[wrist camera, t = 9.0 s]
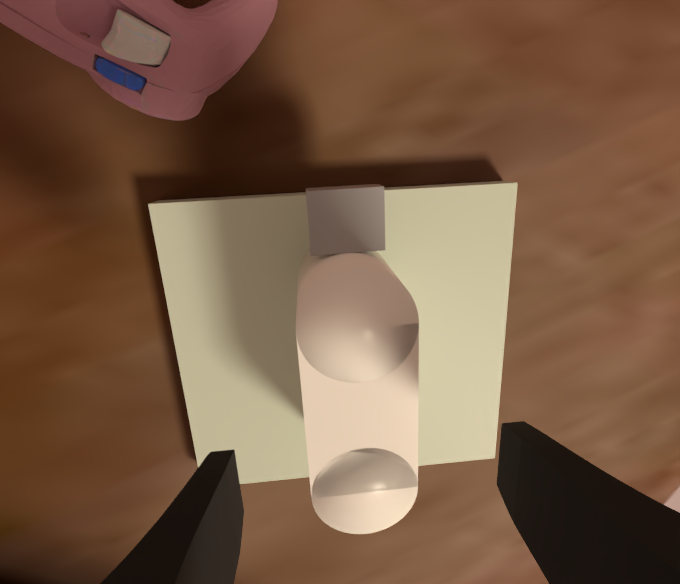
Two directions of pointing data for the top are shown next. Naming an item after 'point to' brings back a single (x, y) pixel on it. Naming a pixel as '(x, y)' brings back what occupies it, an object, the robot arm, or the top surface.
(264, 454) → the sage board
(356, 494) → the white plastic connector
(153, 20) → the pink toy car
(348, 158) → the top surface
